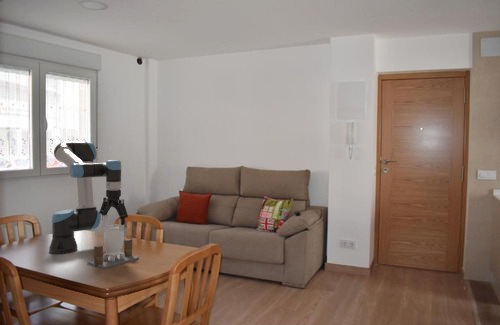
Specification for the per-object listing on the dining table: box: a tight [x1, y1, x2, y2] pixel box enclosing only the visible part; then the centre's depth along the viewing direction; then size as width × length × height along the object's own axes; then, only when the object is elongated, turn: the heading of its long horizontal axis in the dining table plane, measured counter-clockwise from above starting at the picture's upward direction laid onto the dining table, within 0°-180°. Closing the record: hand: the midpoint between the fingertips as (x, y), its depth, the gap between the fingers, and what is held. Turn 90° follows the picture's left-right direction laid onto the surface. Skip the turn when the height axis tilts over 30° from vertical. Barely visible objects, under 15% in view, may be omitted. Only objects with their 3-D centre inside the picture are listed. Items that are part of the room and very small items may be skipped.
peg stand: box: [87, 252, 140, 270], centre depth 221 cm, size 14×22×4 cm, turn 146°
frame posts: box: [93, 238, 133, 268], centre depth 221 cm, size 3×22×10 cm, turn 146°
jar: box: [102, 224, 125, 257], centre depth 221 cm, size 11×10×15 cm
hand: (113, 229), depth 221 cm, fingers open, 13 cm apart
